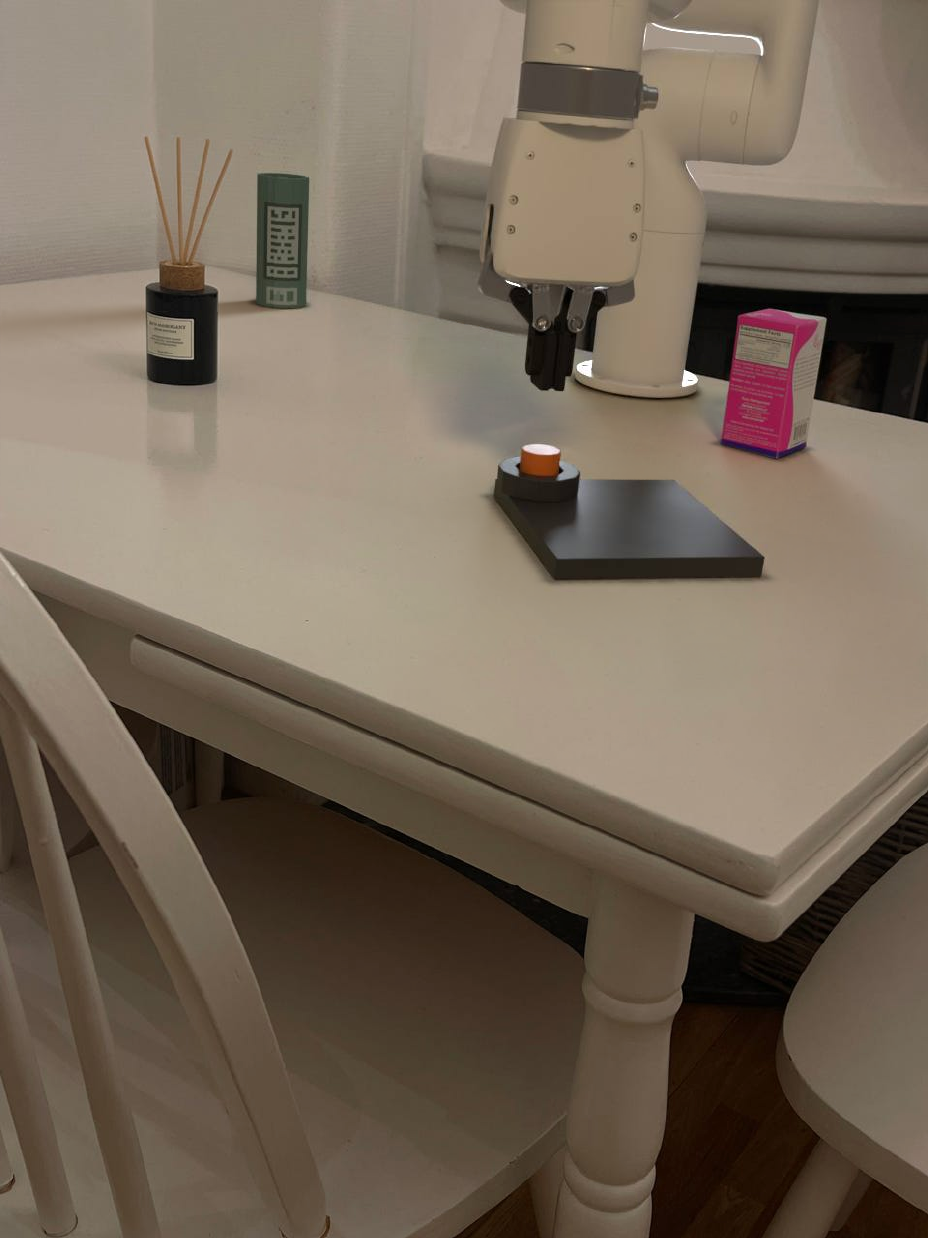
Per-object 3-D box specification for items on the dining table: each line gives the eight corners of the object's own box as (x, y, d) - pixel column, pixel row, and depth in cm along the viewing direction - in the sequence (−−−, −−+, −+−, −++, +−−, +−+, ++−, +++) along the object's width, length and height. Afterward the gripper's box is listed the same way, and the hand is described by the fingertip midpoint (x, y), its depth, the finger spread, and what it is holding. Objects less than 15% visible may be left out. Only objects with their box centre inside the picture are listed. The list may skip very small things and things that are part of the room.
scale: (487, 495, 93) (491, 455, 92) (669, 495, 96) (675, 457, 95) (549, 580, 78) (554, 534, 77) (761, 577, 82) (769, 533, 80)
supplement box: (747, 433, 115) (769, 306, 110) (807, 448, 112) (832, 318, 107) (716, 443, 111) (737, 312, 106) (777, 459, 108) (802, 324, 103)
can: (304, 300, 159) (307, 175, 153) (306, 309, 154) (310, 179, 148) (256, 297, 158) (257, 171, 152) (256, 306, 153) (257, 176, 147)
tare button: (514, 467, 91) (517, 443, 90) (552, 467, 91) (554, 443, 91) (525, 479, 88) (527, 454, 88) (563, 479, 89) (565, 455, 88)
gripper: (666, 107, 85) (630, 377, 92) (449, 88, 81) (430, 371, 89) (709, 111, 78) (667, 402, 85) (476, 91, 75) (452, 396, 82)
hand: (546, 385), depth 87 cm, fingers closed
